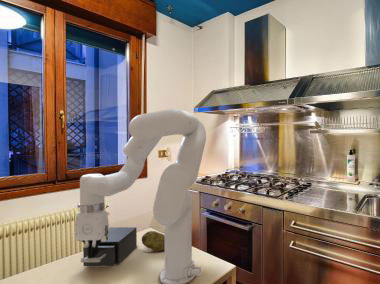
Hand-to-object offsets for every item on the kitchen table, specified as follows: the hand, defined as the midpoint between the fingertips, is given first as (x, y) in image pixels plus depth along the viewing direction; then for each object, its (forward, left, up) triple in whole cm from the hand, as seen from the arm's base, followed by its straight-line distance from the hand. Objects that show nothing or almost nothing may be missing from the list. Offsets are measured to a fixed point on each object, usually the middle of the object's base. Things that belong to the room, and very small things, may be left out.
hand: (92, 256), depth 85 cm
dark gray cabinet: (+3, -12, -6) cm, 14 cm away
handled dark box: (+2, -7, -5) cm, 9 cm away
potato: (-12, -21, -6) cm, 25 cm away
